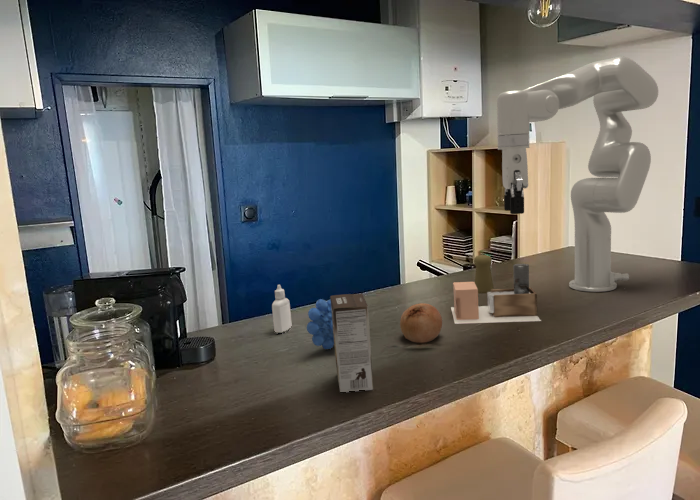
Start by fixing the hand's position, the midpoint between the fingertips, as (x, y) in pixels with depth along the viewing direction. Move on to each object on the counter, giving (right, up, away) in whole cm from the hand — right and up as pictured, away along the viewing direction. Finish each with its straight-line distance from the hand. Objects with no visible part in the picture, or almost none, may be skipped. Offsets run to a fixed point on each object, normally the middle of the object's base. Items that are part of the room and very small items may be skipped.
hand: (513, 211), depth 131 cm
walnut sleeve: (0, -25, -1) cm, 25 cm away
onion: (-25, -31, -14) cm, 42 cm away
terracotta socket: (-11, -26, 0) cm, 28 cm away
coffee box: (-41, -35, -33) cm, 63 cm away
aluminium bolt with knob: (-2, -24, -1) cm, 25 cm away
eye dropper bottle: (-58, -30, +2) cm, 66 cm away
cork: (-1, -22, +25) cm, 33 cm away
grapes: (-45, -32, -15) cm, 58 cm away
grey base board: (-5, -27, -1) cm, 27 cm away
